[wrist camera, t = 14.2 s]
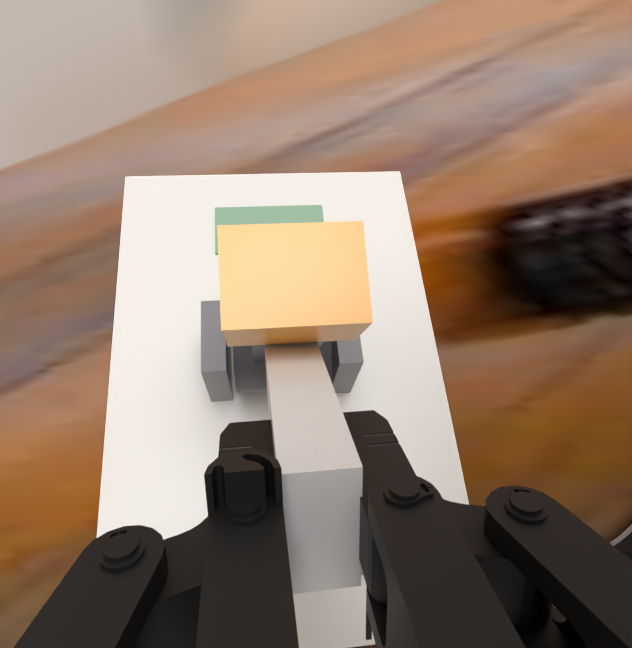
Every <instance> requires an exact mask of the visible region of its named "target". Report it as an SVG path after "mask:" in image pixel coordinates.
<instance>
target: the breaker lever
mask: <svg viewBox="0 0 632 648" xmlns="http://www.w3.org/2000/svg"><path fill="white" fill-rule="evenodd" d="M217 234H218V262H219V289H220V316H221V332H222V334H223V336H224V339H225V341H226V343H227V346H228V347H233V362H234V375H235V386H236V392H237V394H239V393H254V392H267V380H266V360H265V345H270V344H288V343H306V342H317V344H318V347H319V349H320V352H321V355H322V357H323V360H324V363H325V366H326V368H327V371H328V374H329V376H330V379H331V372H332V348H331V341H342V340H356V339H357V338H358V337H359V336H360V335H361V334H362V333H363V332H364V331H365V330H366V329H367V328H368V327H369V326H370V325H371V324H372V323H373V319H372V308H371V298H370V287H369V277H368V266H367V256H366V245H365V235H364V224H363V221H345V222H311V223H277V224H243V225H217Z"/></svg>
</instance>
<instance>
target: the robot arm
mask: <svg viewBox="0 0 632 648" xmlns="http://www.w3.org/2000/svg"><path fill="white" fill-rule="evenodd" d="M265 360H266V380H267V400H268V419H269V420H259V421H246V422H233V423H229V424H228V426H227V427H226V428H225V429H224V430H223V432H222V433H221V434H220V441H219V452H218V458H216V459H215V460H214V461H213V462H212V463H211V464H210V465H208V467H207V469H206V471H205V474H204V480H205V490H206V500H207V510H208V516H207V517H206V518H205V519H204V520H203V521H202V522H201V523H200V524H198V525H197V526H195V527H194V528H192V529H191V530H188V531H186V532H184V533H181V534H179V535H176V536H173V537H170V538H167V539H164V540H163V538H162V535H161V534H160V533H159V532H157V531H156V530H155V529H153V528H151V527H146V526H142V525H133V526H123V527H120V528H117V529H114V530H111V531H108V532H106V533H105V534H103V535H101V536H99V537H98V538H96V539H94V540H93V541H92V542H91V543H90V544H89V545H88V546H87V547H86V548H85V549H84V550H83V552H82V553H81V554H80V556H79V557H78V559H77V560H76V561H75V563H74V564H73V566H72V567H71V568H70V570H69V571H68V572H67V574H66V575H65V577H64V578H63V579H62V581H61V582H60V584H59V585H58V586H57V588H56V589H55V591H54V592H53V593H52V595H51V596H50V598H49V599H48V600H47V602H46V603H45V605H44V606H43V607H42V609H41V610H40V612H39V613H38V614H37V616H36V617H35V619H34V620H33V621H32V623H31V624H30V626H29V627H28V628H27V630H26V631H25V633H24V634H23V635H22V637H21V638H20V640H19V641H18V642H17V644H16V645H15V647H14V648H299V643H298V634H297V626H296V617H295V608H294V599H293V594H298V593H306V592H315V591H322V590H331V589H340V588H348V587H357V586H361V567H362V571H363V575H364V578H365V582H366V585H367V586H366V640H371V639H372V632H373V636H374V640H375V644H376V648H632V560H631V559H629V558H628V557H627V556H626V555H624V554H623V553H622V552H620V551H619V550H618V549H617V548H615V547H614V546H613V545H612V544H610V543H609V542H608V541H606V540H605V539H604V538H603V537H601V536H600V535H599V534H597V533H596V532H595V531H594V530H592V529H591V528H590V527H589V526H587V525H586V524H585V523H583V522H582V521H581V520H580V519H578V518H577V517H576V516H575V515H573V514H572V513H571V512H569V511H568V510H567V509H566V508H564V507H563V506H562V505H561V504H559V503H558V502H557V501H555V500H554V499H552V498H551V497H549V496H547V495H546V494H544V493H542V492H539V491H536V490H534V489H531V488H528V487H520V486H507V487H500V488H498V489H496V490H494V491H492V492H491V493H490V494H489V496H488V497H487V499H486V505H485V507H484V506H476V505H468V504H461V503H456V502H451V501H448V500H445V499H443V498H442V496H441V494H440V493H439V491H438V490H437V489H436V488H435V487H434V486H433V484H432V483H430V482H428V481H426V480H425V479H423V478H421V477H418V476H416V474H415V472H414V470H413V468H412V466H411V464H410V462H409V460H408V459H407V457H406V455H405V453H404V451H403V449H402V447H401V445H400V444H399V441H398V439H397V437H396V436H395V434H394V432H393V430H392V428H391V426H390V424H389V422H388V420H387V419H386V418H384V417H383V416H381V415H380V414H379V413H377V412H376V411H374V410H368V411H355V412H342V409H341V406H340V404H339V401H338V398H337V395H336V393H335V390H334V387H333V385H332V382H331V379H330V376H329V374H328V371H327V368H326V366H325V363H324V360H323V357H322V355H321V352H320V349H319V347H318V344H317V342H306V343H288V344H270V345H265ZM552 604H553V606H554V607H555V608H556V609H557V610H558V611H559V612H560V613H561V614H562V615H561V614H560V613H559V612H558V611H557V610H556V609H555V608H554V607H553V606H552Z"/></svg>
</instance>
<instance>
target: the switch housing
mask: <svg viewBox="0 0 632 648" xmlns="http://www.w3.org/2000/svg"><path fill="white" fill-rule="evenodd" d="M345 221H363V224H364V235H365V245H366V256H367V266H368V277H369V287H370V298H371V308H372V319H373V323H372V324H371V325H370V326H369V327H368V328H367V329H366V330H365V331H364V332H363V333H362V334H361V335H360V336H359V337H358V338H357V339H356V340H342V341H331V348H332V372H331V382H332V385H333V387H334V390H335V393H336V395H337V398H338V401H339V404H340V406H341V409H342V412H355V411H368V410H374V411H376V412H377V413H379V414H380V415H381V416H383V417H384V418H386V419H387V420H388V422H389V424H390V426H391V428H392V430H393V432H394V434H395V436H396V437H397V439H398V441H399V444H400V445H401V447H402V449H403V451H404V453H405V455H406V457H407V459H408V460H409V462H410V464H411V466H412V468H413V470H414V472H415V474H416V476H418V477H421V478H423V479H425V480H426V481H428V482H430V483H432V484H433V486H434V487H435V488H436V489H437V490H438V491H439V493H440V494H441V496H442V498H443V499H445V500H448V501H451V502H456V503H461V504H468V505H469V501H468V497H467V492H466V487H465V482H464V477H463V473H462V468H461V463H460V458H459V453H458V449H457V444H456V439H455V434H454V429H453V425H452V420H451V415H450V410H449V405H448V401H447V396H446V391H445V386H444V381H443V377H442V372H441V367H440V362H439V357H438V352H437V348H436V343H435V338H434V333H433V328H432V324H431V319H430V314H429V309H428V304H427V300H426V295H425V290H424V285H423V280H422V276H421V271H420V266H419V261H418V256H417V252H416V247H415V242H414V237H413V232H412V228H411V223H410V218H409V213H408V208H407V204H406V199H405V194H404V189H403V184H402V180H401V175H400V171H397V172H343V173H290V174H236V175H183V176H129V177H125V189H124V201H123V214H122V226H121V239H120V251H119V264H118V276H117V289H116V301H115V314H114V327H113V339H112V352H111V364H110V377H109V389H108V402H107V414H106V427H105V439H104V452H103V464H102V477H101V489H100V502H99V514H98V527H97V538H98V537H99V536H101V535H103V534H105V533H106V532H108V531H111V530H114V529H117V528H120V527H123V526H133V525H142V526H146V527H151V528H153V529H155V530H156V531H157V532H159V533H160V534H161V535H162V538H163V540H164V539H167V538H170V537H173V536H176V535H179V534H181V533H184V532H186V531H188V530H191V529H192V528H194V527H195V526H197V525H198V524H200V523H201V522H202V521H203V520H204V519H205V518H206V517H207V516H208V510H207V500H206V490H205V480H204V474H205V471H206V469H207V467H208V465H210V464H211V463H212V462H213V461H214V460H215V459H216V458H218V452H219V441H220V434H221V433H222V432H223V430H224V429H225V428H226V427H227V426H228V424H229V423H233V422H246V421H259V420H269V419H268V400H267V392H254V393H239V394H237V392H236V386H235V375H234V362H233V347H228V346H227V343H226V341H225V339H224V336H223V334H222V332H221V316H220V289H219V262H218V234H217V225H243V224H277V223H311V222H345ZM366 586H367V585H366V582H365V578H364V575H363V571H362V567H361V586H357V587H348V588H340V589H331V590H322V591H315V592H306V593H298V594H293V599H294V608H295V617H296V626H297V634H298V643H299V648H350V647H358V646H366V645H374V644H375V640H374V636H373V632H372V639H371V640H366Z"/></svg>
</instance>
